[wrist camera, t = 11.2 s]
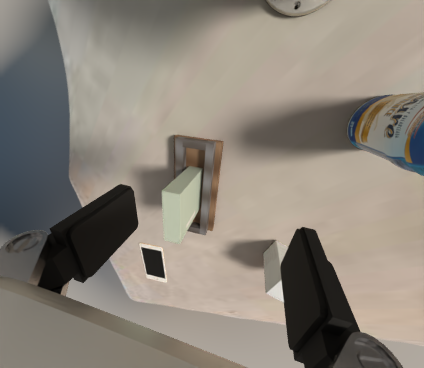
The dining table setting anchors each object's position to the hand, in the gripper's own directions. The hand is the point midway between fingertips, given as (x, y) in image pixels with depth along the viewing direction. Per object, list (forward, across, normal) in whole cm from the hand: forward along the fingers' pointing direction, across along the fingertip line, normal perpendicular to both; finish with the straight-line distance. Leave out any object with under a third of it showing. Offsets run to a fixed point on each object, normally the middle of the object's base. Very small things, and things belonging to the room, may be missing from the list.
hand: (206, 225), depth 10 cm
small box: (+26, -15, +26) cm, 40 cm away
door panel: (+24, +9, +13) cm, 29 cm away
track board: (+26, +9, +13) cm, 30 cm away
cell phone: (+25, +21, +44) cm, 55 cm away
